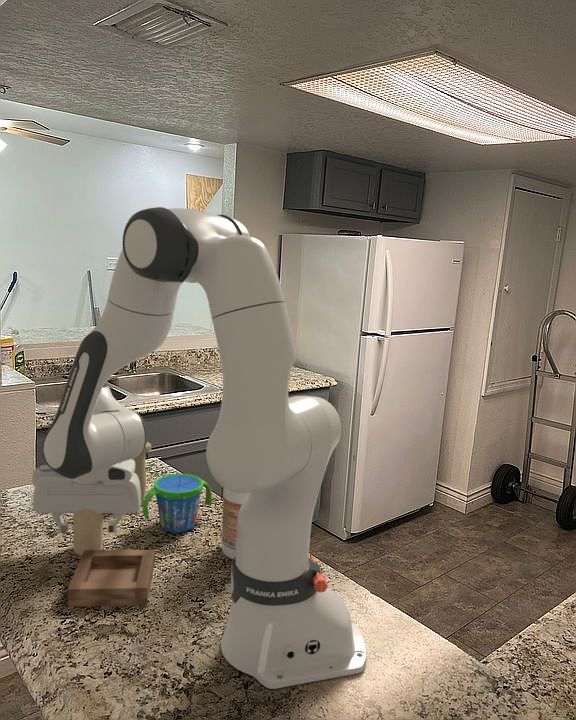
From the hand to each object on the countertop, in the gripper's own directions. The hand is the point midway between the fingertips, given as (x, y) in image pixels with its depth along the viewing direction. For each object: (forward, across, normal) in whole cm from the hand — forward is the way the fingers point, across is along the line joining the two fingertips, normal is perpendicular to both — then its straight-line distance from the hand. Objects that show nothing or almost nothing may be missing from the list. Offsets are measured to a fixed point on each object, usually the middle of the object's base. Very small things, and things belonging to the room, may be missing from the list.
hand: (88, 532), depth 118 cm
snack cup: (+4, +17, +10) cm, 20 cm away
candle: (+4, 0, 0) cm, 4 cm away
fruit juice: (+4, +31, -1) cm, 31 cm away
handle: (+4, +7, +21) cm, 22 cm away
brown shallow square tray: (+4, +7, -13) cm, 15 cm away
